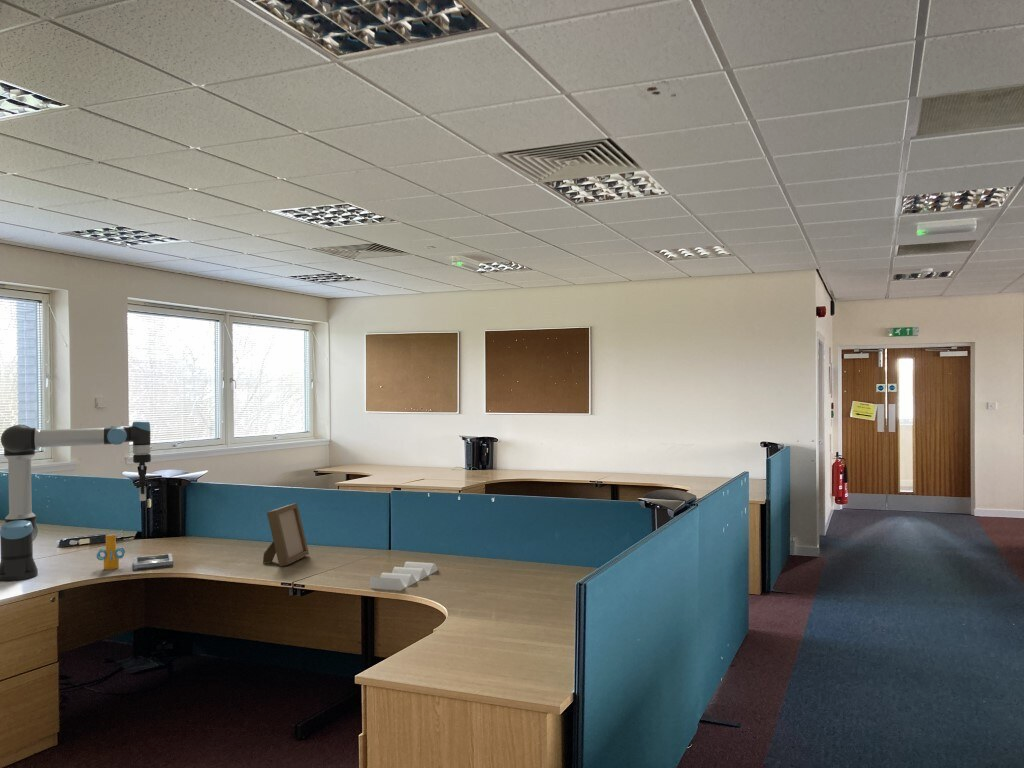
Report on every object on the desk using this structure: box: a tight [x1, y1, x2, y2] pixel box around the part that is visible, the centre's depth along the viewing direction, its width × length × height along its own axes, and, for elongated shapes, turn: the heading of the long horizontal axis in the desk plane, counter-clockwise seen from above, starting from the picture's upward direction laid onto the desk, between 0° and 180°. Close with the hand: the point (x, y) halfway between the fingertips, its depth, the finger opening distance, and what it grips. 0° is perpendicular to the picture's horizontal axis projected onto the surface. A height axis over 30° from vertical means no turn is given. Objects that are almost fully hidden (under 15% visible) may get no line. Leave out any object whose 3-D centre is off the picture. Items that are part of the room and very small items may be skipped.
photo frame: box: [262, 502, 310, 567], centre depth 359 cm, size 15×22×25 cm
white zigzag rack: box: [369, 561, 439, 591], centre depth 322 cm, size 13×35×5 cm, turn 160°
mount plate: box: [133, 553, 174, 571], centre depth 357 cm, size 16×18×2 cm
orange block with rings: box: [96, 533, 125, 571], centre depth 350 cm, size 12×10×15 cm
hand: (142, 499), depth 370 cm, fingers open, 13 cm apart
